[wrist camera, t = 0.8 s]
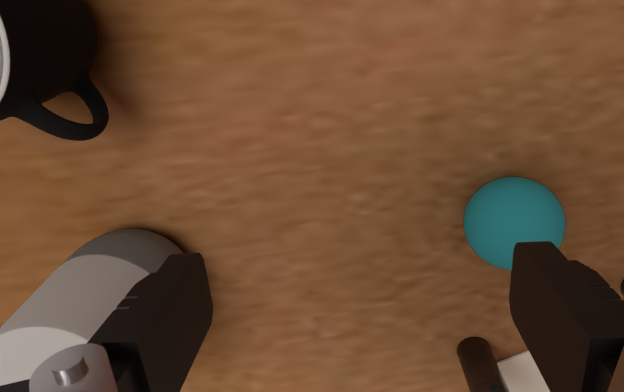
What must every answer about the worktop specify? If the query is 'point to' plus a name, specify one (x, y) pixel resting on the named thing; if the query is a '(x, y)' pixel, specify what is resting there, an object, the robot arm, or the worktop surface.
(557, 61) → the worktop surface
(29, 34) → the mug
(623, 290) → the post
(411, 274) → the worktop surface
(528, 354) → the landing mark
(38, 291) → the smart speaker
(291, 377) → the worktop surface
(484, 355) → the post
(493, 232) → the ball
